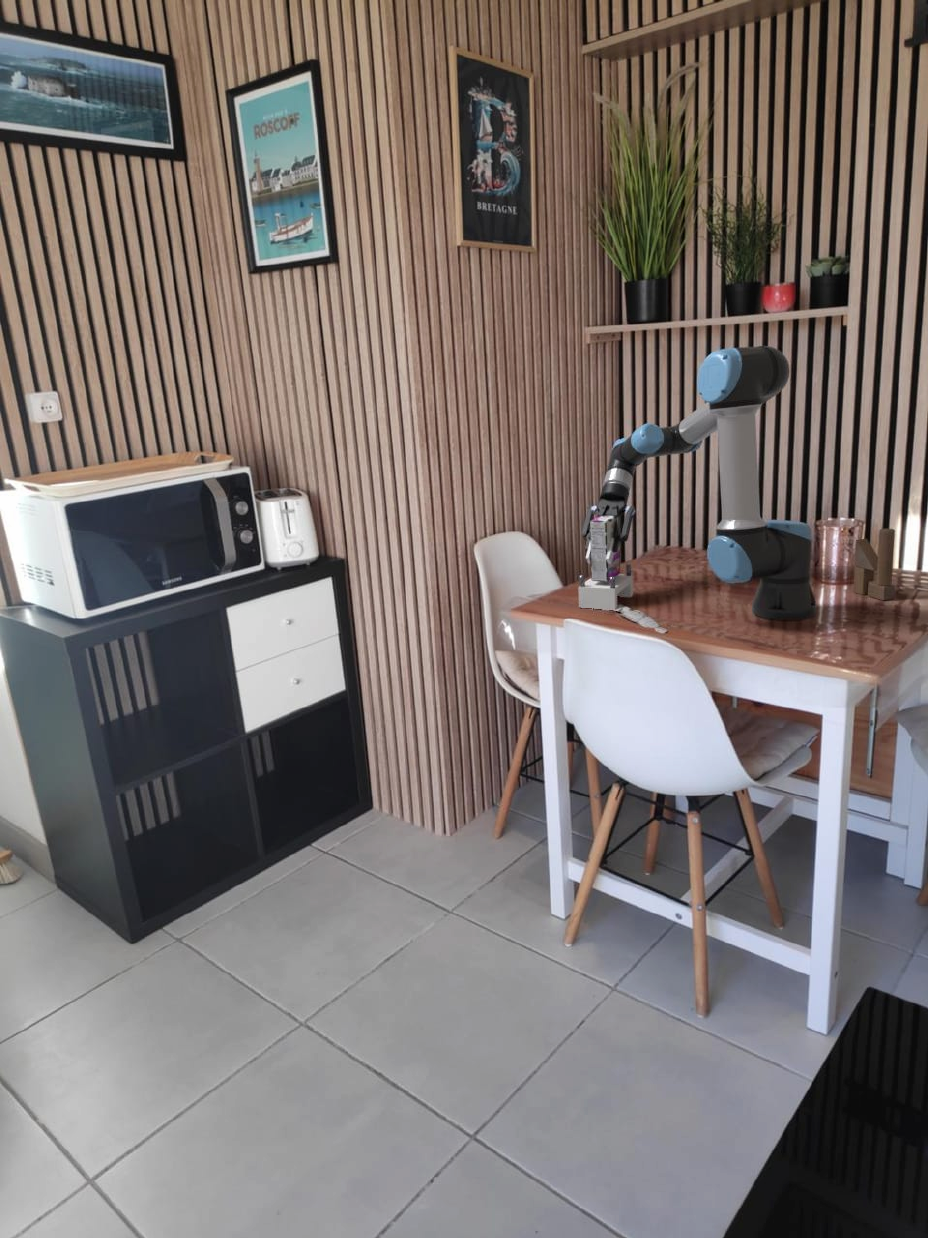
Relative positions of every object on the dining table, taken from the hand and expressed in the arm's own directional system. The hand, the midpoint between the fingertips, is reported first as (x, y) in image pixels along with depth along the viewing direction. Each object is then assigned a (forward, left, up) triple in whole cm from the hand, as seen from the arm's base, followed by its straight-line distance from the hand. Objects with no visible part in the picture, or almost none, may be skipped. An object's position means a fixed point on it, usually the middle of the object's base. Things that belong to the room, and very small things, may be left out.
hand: (598, 561), depth 239 cm
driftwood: (-10, -4, -13) cm, 17 cm away
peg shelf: (+4, -4, -13) cm, 14 cm away
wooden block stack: (-21, -68, -13) cm, 72 cm away
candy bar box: (+4, -3, -6) cm, 8 cm away
